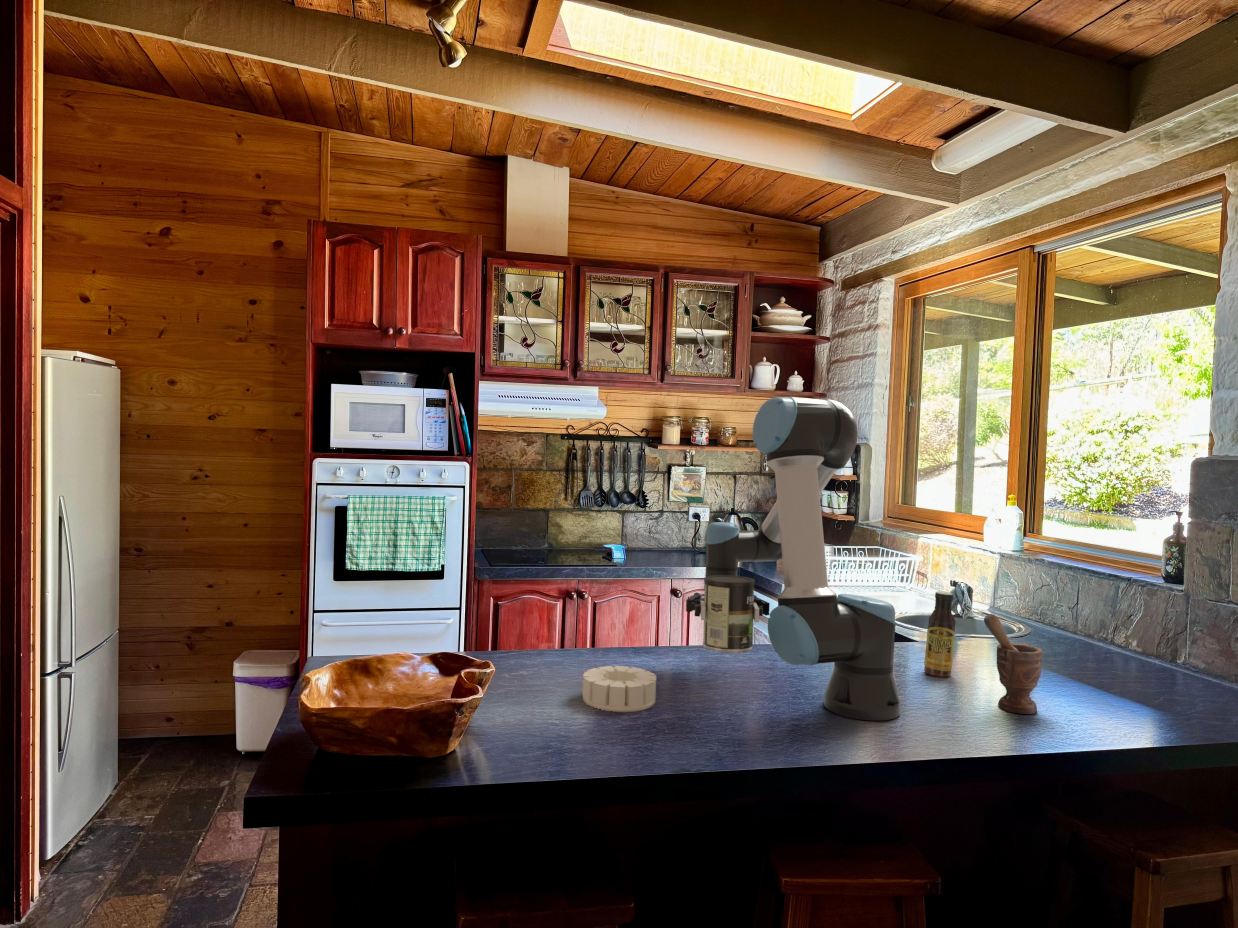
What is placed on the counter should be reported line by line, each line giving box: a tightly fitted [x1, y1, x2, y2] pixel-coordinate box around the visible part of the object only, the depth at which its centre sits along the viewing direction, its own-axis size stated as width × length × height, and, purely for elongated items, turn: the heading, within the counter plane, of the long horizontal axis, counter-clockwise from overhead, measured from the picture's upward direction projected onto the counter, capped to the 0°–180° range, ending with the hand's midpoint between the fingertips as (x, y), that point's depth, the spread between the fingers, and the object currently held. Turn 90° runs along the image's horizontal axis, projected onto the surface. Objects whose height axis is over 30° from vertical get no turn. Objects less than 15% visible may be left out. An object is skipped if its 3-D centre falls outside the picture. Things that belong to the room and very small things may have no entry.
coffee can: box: [702, 575, 756, 654], centre depth 168 cm, size 10×10×14 cm
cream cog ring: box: [581, 665, 657, 713], centre depth 169 cm, size 15×15×5 cm
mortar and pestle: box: [983, 613, 1043, 715], centre depth 172 cm, size 12×9×20 cm
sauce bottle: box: [923, 591, 956, 678], centre depth 197 cm, size 6×6×20 cm
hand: (730, 614), depth 163 cm, fingers closed on coffee can, 10 cm apart
